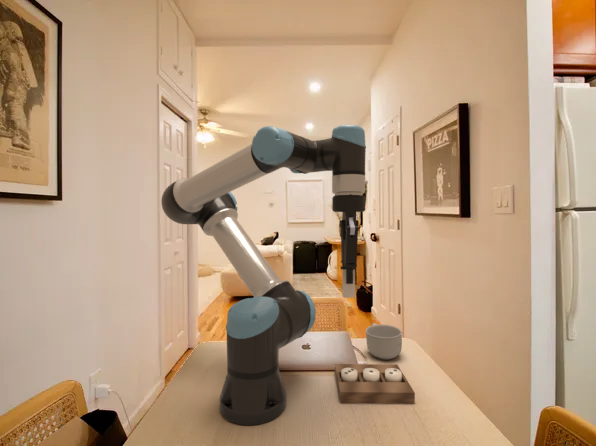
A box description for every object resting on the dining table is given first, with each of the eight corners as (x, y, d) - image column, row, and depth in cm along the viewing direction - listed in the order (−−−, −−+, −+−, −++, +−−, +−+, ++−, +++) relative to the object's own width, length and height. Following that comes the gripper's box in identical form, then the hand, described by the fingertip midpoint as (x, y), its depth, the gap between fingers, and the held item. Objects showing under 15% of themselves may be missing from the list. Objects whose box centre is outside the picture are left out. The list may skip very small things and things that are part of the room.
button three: (342, 386, 79) (342, 375, 79) (340, 377, 83) (340, 367, 83) (358, 386, 79) (358, 375, 79) (356, 378, 83) (356, 367, 83)
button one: (364, 386, 79) (364, 375, 79) (361, 378, 83) (361, 367, 83) (381, 386, 79) (381, 375, 79) (377, 378, 83) (377, 367, 83)
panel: (340, 402, 74) (340, 392, 74) (334, 373, 88) (334, 364, 88) (414, 403, 74) (414, 392, 74) (397, 373, 88) (397, 364, 88)
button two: (387, 386, 79) (387, 375, 79) (383, 378, 83) (383, 367, 83) (403, 386, 79) (403, 375, 79) (398, 378, 83) (399, 367, 83)
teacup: (406, 363, 94) (406, 336, 94) (369, 363, 94) (369, 336, 94) (393, 344, 108) (393, 320, 107) (361, 344, 108) (361, 320, 108)
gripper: (370, 192, 67) (370, 304, 68) (360, 196, 80) (360, 290, 81) (335, 193, 68) (335, 304, 68) (330, 196, 81) (330, 290, 81)
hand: (348, 296), depth 75 cm, fingers closed
